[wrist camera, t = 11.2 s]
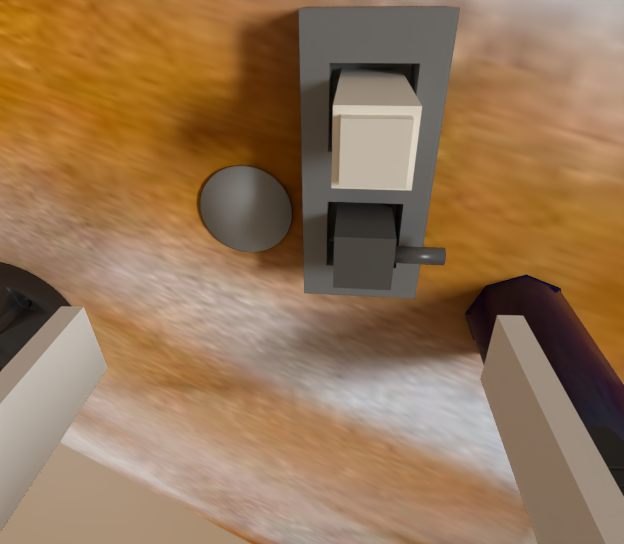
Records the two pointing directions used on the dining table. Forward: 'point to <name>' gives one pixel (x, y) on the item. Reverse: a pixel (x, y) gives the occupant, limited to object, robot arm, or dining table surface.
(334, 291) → the strip
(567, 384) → the bottle
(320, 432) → the dining table surface
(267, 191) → the coaster
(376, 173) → the plug
